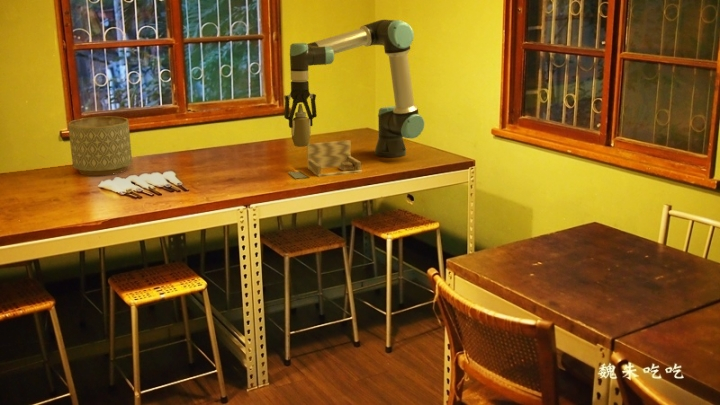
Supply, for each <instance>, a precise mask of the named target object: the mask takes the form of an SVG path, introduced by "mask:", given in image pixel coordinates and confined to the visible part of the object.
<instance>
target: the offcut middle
mask: <svg viewBox="0 0 720 405" xmlns="http://www.w3.org/2000/svg"><path fill="white" fill-rule="evenodd" d="M338 169H339V170H341V171H342V172H347V171H355V170H354V167H350V168H343V167H342V166H338Z"/></svg>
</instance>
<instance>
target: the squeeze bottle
mask: <svg viewBox="0 0 720 405" xmlns="http://www.w3.org/2000/svg"><path fill="white" fill-rule="evenodd" d="M297 106H298V107H297V112H296V111H295V113H294V117H293V120H294V121H295V127H294V136H293V135H291V140H292V142H293V144H294V145H293V146H295V147H297V148H298V147H300V148H304V147H307V146H308V144H310V140H311V134H310V130H309V122H308V118H309V117H308V116H307V112H306V111H304V108H303V103H298V105H297ZM306 116H307V117H306Z"/></svg>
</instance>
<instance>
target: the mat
mask: <svg viewBox="0 0 720 405" xmlns="http://www.w3.org/2000/svg"><path fill="white" fill-rule="evenodd" d="M287 173H288V175H290V176H291V177H292V178H293V179H295V180H303V179H311V177H310V176H308V175H306V174H305V173H303V172H302V171H299V170H298V171H290V172H287Z"/></svg>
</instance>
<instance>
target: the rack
mask: <svg viewBox="0 0 720 405" xmlns="http://www.w3.org/2000/svg"><path fill="white" fill-rule="evenodd" d="M351 143H352V142H351V139H350V140H339V141H337V140H336V141H328V142H325V141H324V142H314V143H309V144H308V146H306V152H307V154H306V156H307V159H306V160H307V161H306V162H307V170H309V171H310V172H312V173H313V174H314V175H316V176H317V177H319V178H320V177H329V176H330V177H331V176H340V175H349V174H351V175H352V174H359V173H363V170H362V161H360V160H358V159H357V158H355V157H353V156H352V155H351V151H352V150H351V147H352V146H351ZM341 162H351V163H352V164H353V167H354V170H351V171H339V172H328V173H322V169H327V168H336V167H338V168H339V166H341Z"/></svg>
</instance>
